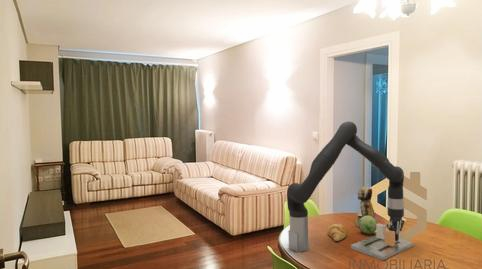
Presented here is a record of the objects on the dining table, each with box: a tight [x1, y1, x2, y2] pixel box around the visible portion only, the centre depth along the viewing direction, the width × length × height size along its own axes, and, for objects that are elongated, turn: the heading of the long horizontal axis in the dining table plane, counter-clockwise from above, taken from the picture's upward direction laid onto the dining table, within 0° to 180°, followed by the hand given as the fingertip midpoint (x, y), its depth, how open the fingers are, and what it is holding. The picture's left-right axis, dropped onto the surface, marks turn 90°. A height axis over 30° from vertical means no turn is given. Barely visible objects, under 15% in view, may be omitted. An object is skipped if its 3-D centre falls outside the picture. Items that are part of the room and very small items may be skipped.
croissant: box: [326, 222, 347, 242], centre depth 189 cm, size 21×10×8 cm, turn 164°
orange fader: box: [385, 228, 395, 247], centre depth 168 cm, size 2×4×7 cm, turn 35°
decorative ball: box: [358, 216, 378, 235], centre depth 190 cm, size 10×10×10 cm
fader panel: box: [350, 234, 414, 261], centre depth 171 cm, size 26×18×2 cm
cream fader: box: [375, 222, 387, 239], centre depth 177 cm, size 2×4×7 cm, turn 35°
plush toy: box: [354, 186, 376, 228], centre depth 202 cm, size 14×14×25 cm
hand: (395, 240), depth 171 cm, fingers closed
